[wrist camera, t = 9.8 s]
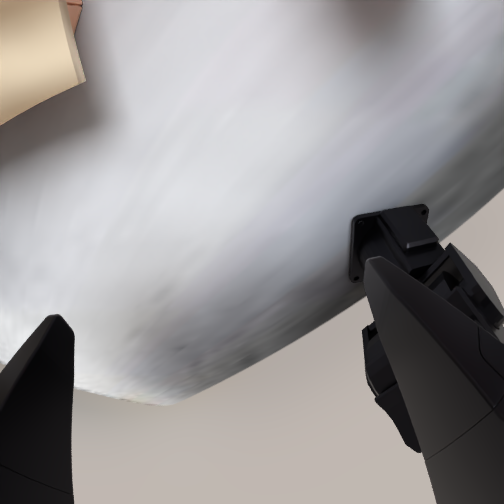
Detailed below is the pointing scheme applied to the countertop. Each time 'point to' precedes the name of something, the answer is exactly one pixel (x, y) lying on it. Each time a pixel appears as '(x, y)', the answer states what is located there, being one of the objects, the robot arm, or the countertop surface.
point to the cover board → (35, 54)
